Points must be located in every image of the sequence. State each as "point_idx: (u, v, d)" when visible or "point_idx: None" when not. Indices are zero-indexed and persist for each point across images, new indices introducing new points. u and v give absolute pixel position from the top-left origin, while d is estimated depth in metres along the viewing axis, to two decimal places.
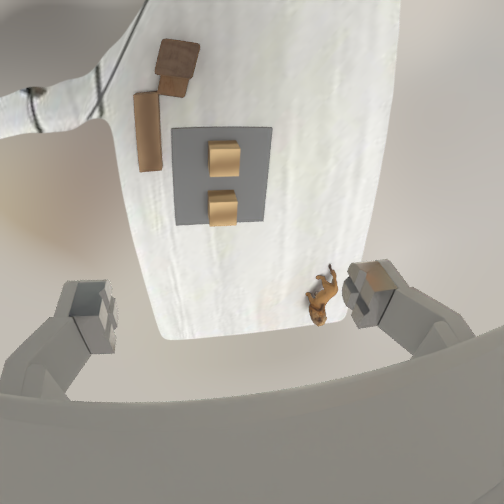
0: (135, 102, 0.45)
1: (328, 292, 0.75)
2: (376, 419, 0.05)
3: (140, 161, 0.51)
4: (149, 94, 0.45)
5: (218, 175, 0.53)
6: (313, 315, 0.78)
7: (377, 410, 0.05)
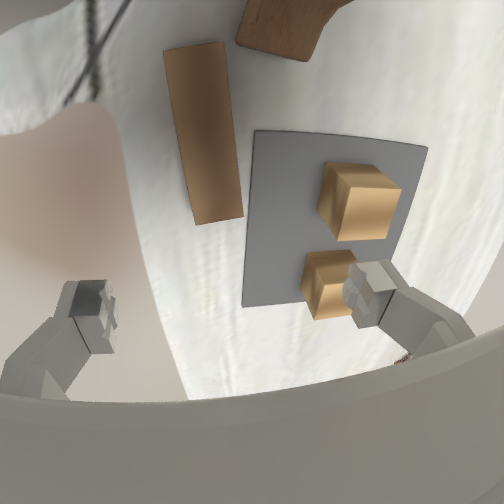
0: (169, 67, 0.18)
1: None
2: (376, 419, 0.05)
3: (195, 203, 0.24)
4: (203, 46, 0.17)
5: (353, 238, 0.26)
6: None
7: (377, 410, 0.05)
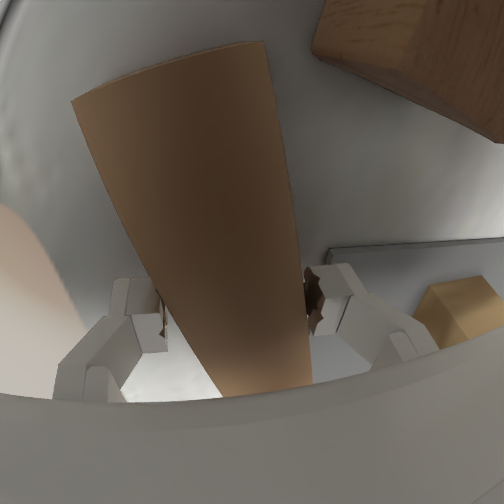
0: (102, 149, 0.06)
1: None
2: (376, 419, 0.05)
3: (228, 391, 0.13)
4: (197, 61, 0.05)
5: None
6: None
7: (377, 410, 0.05)
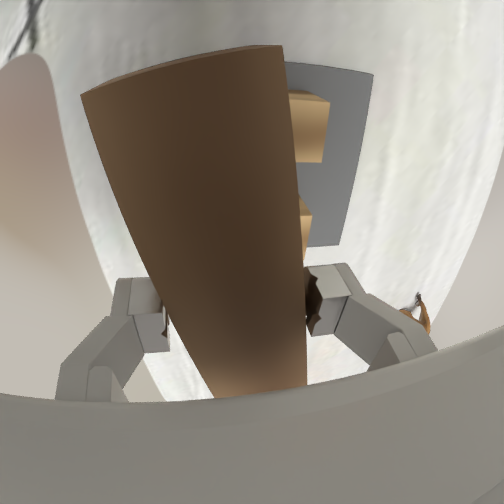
0: (109, 146, 0.06)
1: None
2: (376, 419, 0.05)
3: (222, 396, 0.12)
4: (213, 62, 0.05)
5: None
6: None
7: (377, 410, 0.05)
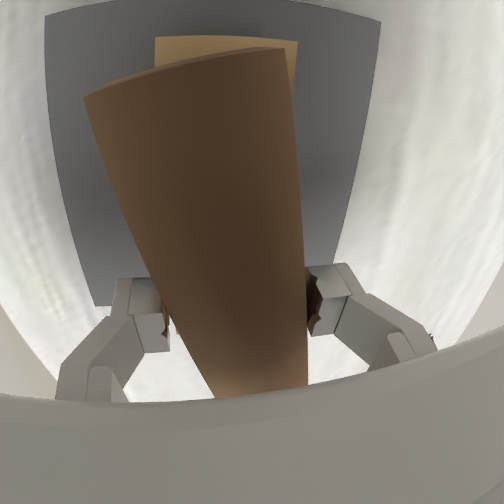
0: (112, 149, 0.06)
1: None
2: (376, 419, 0.05)
3: None
4: (216, 64, 0.05)
5: None
6: None
7: (377, 410, 0.05)
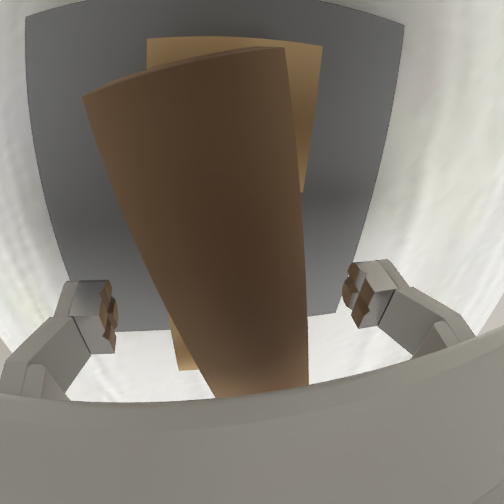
0: (111, 148, 0.06)
1: None
2: (376, 419, 0.05)
3: None
4: (216, 64, 0.05)
5: None
6: None
7: (377, 410, 0.05)
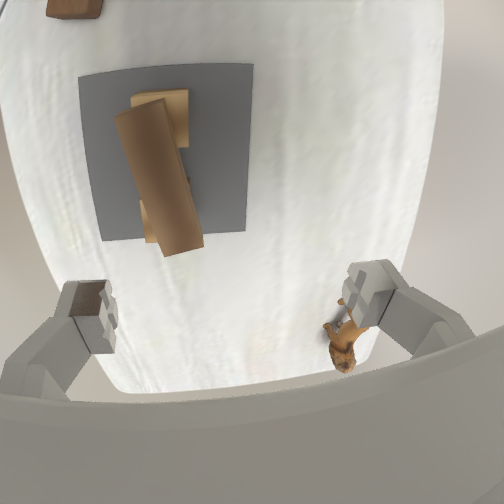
0: (121, 131, 0.22)
1: None
2: (376, 419, 0.05)
3: (160, 239, 0.29)
4: (145, 108, 0.22)
5: None
6: (336, 359, 0.50)
7: (377, 410, 0.05)
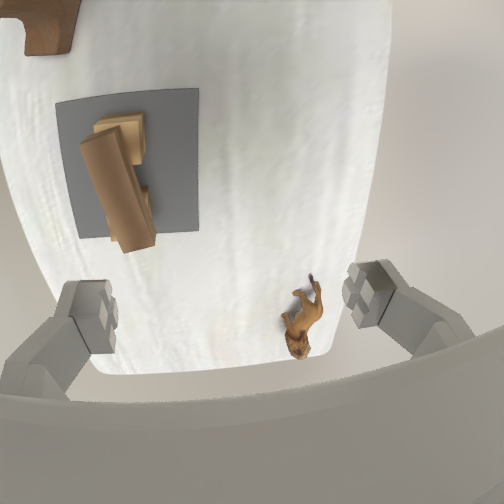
0: (84, 155, 0.27)
1: (309, 315, 0.52)
2: (376, 419, 0.05)
3: (119, 239, 0.34)
4: (102, 137, 0.27)
5: None
6: (290, 346, 0.56)
7: (377, 410, 0.05)
